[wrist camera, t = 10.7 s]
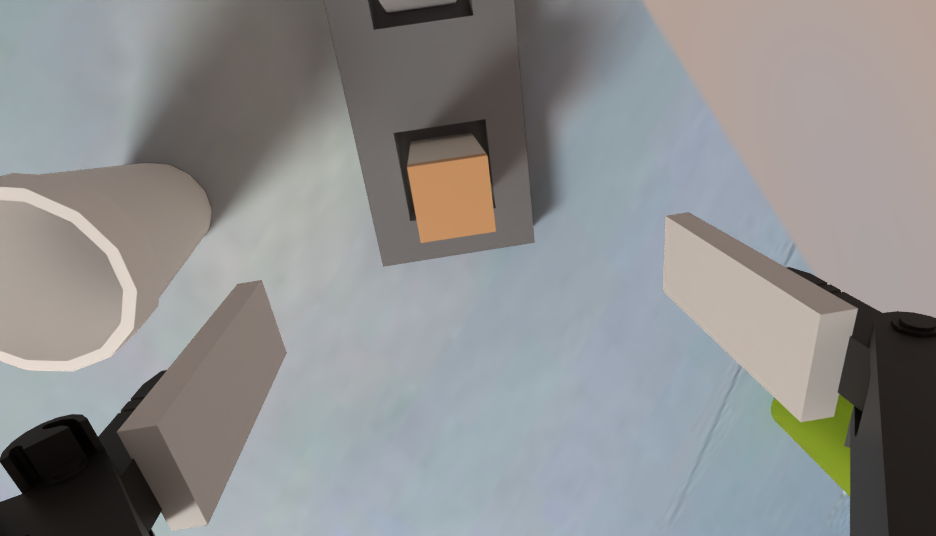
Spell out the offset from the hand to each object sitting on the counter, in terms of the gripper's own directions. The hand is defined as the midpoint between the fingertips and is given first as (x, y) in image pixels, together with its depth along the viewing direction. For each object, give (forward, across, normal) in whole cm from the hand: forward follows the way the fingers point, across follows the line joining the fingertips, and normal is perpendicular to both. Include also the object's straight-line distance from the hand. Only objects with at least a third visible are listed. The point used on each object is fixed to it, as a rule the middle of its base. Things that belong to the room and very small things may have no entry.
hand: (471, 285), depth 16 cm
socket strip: (+20, 0, +6) cm, 21 cm away
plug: (+20, 0, 0) cm, 20 cm away
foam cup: (+21, -20, 0) cm, 29 cm away
